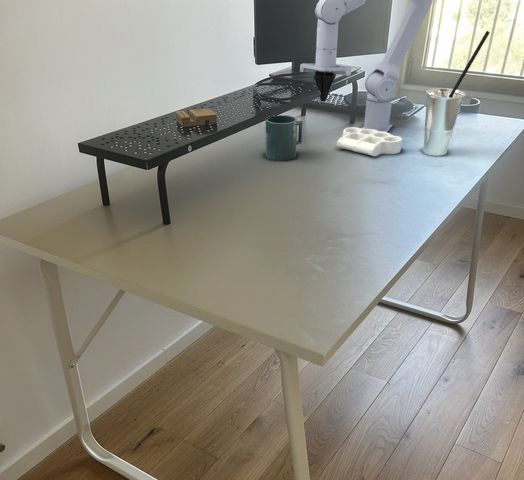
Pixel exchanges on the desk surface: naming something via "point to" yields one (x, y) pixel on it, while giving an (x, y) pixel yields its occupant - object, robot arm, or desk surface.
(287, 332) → the desk surface
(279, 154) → the mug
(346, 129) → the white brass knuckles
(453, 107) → the metal cup with straw
